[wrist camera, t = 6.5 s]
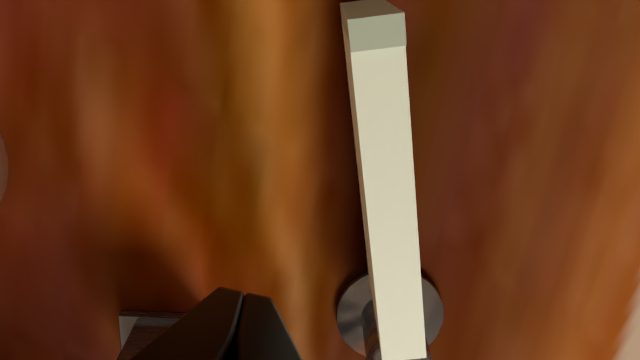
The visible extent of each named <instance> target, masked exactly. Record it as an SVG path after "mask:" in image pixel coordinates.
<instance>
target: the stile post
mask: <svg viewBox="0 0 640 360" xmlns="http://www.w3.org/2000/svg"><path fill="white" fill-rule="evenodd" d="M185 314H186V313H169V312H145V311H121V313H120V315H119V325H120V336H121V346H122V350H121V352H120V354H119V356H118V358H117V360H128V359H129V358H131V357H132V356H133V355H134V354H136V353H137V352H138V351H140V350H141V349H142V348H143V347H145V346H146V345H147V344H148V343H150V342H151V341H152V340H153V339H155V338H156V337H157V336H158V335H160V334H161V333H162V332H163V331H165V330H166V329H167V328H168V327H170V326H171V325H172V324H173V323H175V322H176V321H177V320H178V319H180V318H181V317H182V316H183V315H185Z"/></svg>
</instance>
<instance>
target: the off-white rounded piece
mask: <svg viewBox="0 0 640 360" xmlns="http://www.w3.org/2000/svg"><path fill="white" fill-rule="evenodd" d="M8 172H9V166H8V156H7V152H6V148H5V144H4V141H3V139H2V136H1V133H0V202H1V201H2V199H3V196H4V194H5V191H6V187H7V182H8Z"/></svg>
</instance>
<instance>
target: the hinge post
mask: <svg viewBox="0 0 640 360" xmlns="http://www.w3.org/2000/svg"><path fill="white" fill-rule="evenodd" d="M421 284H422V299H423V313H424V328H425V343H426V358H420V359H410V360H433V359H432V356H431V352H430V349H429V344H430V343H431V342H432V341H433V340H434V339H435V338H436V336H437V334H438V333H439V331H440V329H441V326H442V322H443V315H444V312H443V305H442V301H441V298H440V296H439V293H438V291H437V289H436V288H435V286H434V285H433V284H432V282H431V281H430V280H429V279H427V278H426V277H425V276H424V275H422V274H421ZM337 323H338V328H339V331H340V333H341V335H342V337H343V339H344V340H345V342H346V343H347V344H348V345H349V346H350V347H351V348H352V349H354V350H355V351H356V352H358V353H360V354H362V355H364V356H366V360H382V357H381V351H380V345H379V338H378V332H377V325H376V319H375V313H374V306H373V300H372V294H371V287H370V281H369V273H368V271H366V272H364V273H362V274H360V275H359V276H357V277H356V278H354V279H353V280H352V281H351V282H350V283H349V284H348V285H347V286H346V287H345V289H344V290H343V292H342V294H341V296H340V298H339V301H338V305H337Z"/></svg>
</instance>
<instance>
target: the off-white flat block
mask: <svg viewBox="0 0 640 360" xmlns="http://www.w3.org/2000/svg"><path fill="white" fill-rule="evenodd" d="M340 11H341V20H342V28H343V38H344V47H345V56H346V66H347V75H348V85H349V94H350V103H351V113H352V122H353V132H354V141H355V150H356V160H357V169H358V179H359V188H360V197H361V207H362V216H363V226H364V235H365V244H366V254H367V263H368V273H369V281H370V287H371V294H372V300H373V306H374V313H375V319H376V325H377V332H378V338H379V345H380V351H381V357H382V360H410V359H420V358H426V343H425V328H424V313H423V299H422V284H421V269H420V254H419V239H418V224H417V209H416V195H415V180H414V165H413V150H412V135H411V120H410V105H409V91H408V76H407V61H406V46H407V45H406V30H405V15H404V12H403V11H401V10H400V9H398V8H397V7H395V6H394V5H392V4H390V3H389V2H387V1H386V0H360V1H352V2H345V3H340Z"/></svg>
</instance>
